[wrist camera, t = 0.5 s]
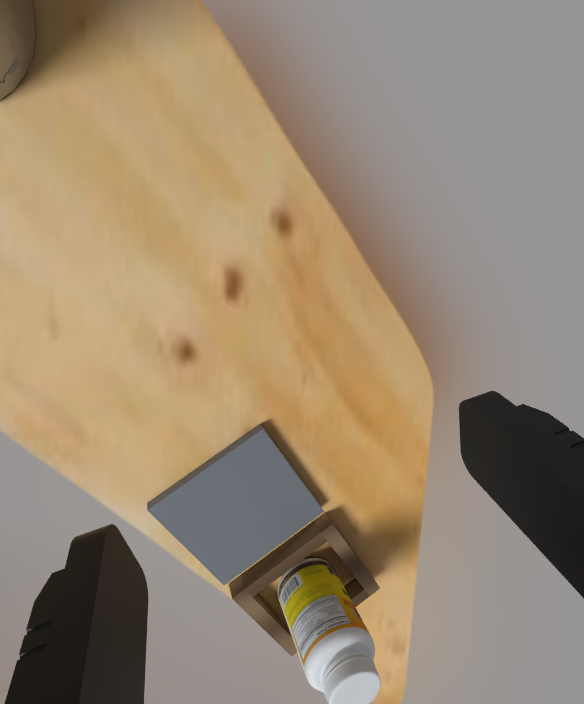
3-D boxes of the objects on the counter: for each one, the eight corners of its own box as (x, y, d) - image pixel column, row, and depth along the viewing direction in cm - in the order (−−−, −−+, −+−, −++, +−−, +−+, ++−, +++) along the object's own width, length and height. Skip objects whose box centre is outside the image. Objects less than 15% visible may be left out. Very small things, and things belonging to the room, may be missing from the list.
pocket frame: (228, 584, 37) (232, 598, 35) (325, 512, 37) (332, 524, 36) (286, 641, 41) (291, 656, 39) (372, 575, 42) (379, 588, 40)
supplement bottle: (333, 594, 41) (389, 707, 32) (276, 611, 39) (318, 736, 30) (333, 546, 39) (393, 652, 30) (274, 563, 37) (318, 680, 28)
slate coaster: (147, 503, 32) (147, 510, 31) (260, 423, 33) (263, 428, 32) (222, 577, 36) (223, 585, 35) (320, 505, 37) (324, 511, 36)
